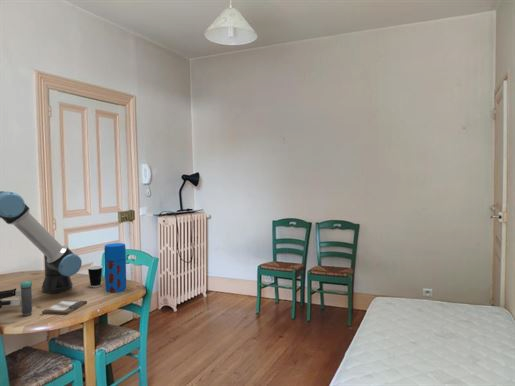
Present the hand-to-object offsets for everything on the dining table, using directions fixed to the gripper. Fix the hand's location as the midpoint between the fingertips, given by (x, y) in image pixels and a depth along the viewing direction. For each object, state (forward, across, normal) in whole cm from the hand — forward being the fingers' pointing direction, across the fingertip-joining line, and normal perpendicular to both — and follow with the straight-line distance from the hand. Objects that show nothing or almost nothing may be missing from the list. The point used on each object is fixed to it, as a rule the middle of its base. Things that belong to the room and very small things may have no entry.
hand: (25, 296), depth 173 cm
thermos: (+34, -32, -9) cm, 47 cm away
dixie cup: (+21, -42, -9) cm, 48 cm away
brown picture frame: (+15, -6, -8) cm, 18 cm away
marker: (0, 0, -8) cm, 8 cm away
